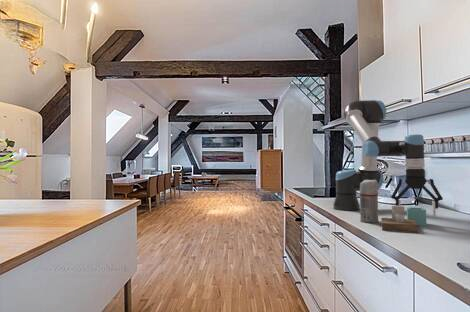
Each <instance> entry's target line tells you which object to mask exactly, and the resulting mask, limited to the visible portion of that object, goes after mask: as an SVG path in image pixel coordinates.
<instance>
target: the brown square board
mask: <svg viewBox="0 0 470 312" xmlns="http://www.w3.org/2000/svg"><path fill="white" fill-rule="evenodd" d="M405 214H406V213H405V206H404V205H401V206H399V205H397V206H396V205H391V217H381V219H380V220H381V230H382V231H387V232H400V233H401V232H402V233H415V234H418V233H419V231H418V230H419V226H418V225H417V224H416V222H415V220H414V219H407V218H405Z"/></svg>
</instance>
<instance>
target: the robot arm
mask: <svg viewBox="0 0 470 312" xmlns="http://www.w3.org/2000/svg"><path fill="white" fill-rule="evenodd" d="M386 117H387V107H386V104H385V103H384V102H383V101H381V100H376V99H375V100H373V99H372V100H371V99H370V100H354V101H350V102H349V103H348V104H347V105H346V106H345V108H344V109H343V118H344V120H345V122H346V124H349V125H350V126H351V127H352V129H353V130H354V132H355V133H356V135H357V136H358V138H359V139H360V141H361V160H360V161H361V162H360V164H361V165H360V166H359V167H358V170H356V169H345V170H339V171H337V172H336V173H335V195H336V196H335V198H334V202H333V205H332V207H333V209H334V210H337V211H338V210H339V211H358V210H359V211H360V201H359V200H358V196H357V192H360V183H361V182H363V181H364V180H377V182H378V191H379V190H380V189H381V188H382V186H383V182H384V176H383V172H381V171H380V168H379V167H378V166H377V165H378V158H379V157H405V179H401V178H399V179H398V183H397V184H396V187H395V189H394V191H393V193H392V194H391V197H390V198H391V199H392V200H394V201H395V206H397V205H399V206H402V203H401V198H402V197H403V196H404V195H405V194H406V192H408V191H409V190H410V189H411V190H415V189H417V190H420V189H422V190H423V191H425V192H426V194H428V195H429V196H430V197H431V199H432V200H431V201H432V203H431V206H432V216H433V217H436V216H437V214H436V212H437V211H436V209H439V202H440V201H442V200H443V196H442V194H441V193H440V191H439V190H438V188H437V187H436V185H435V182H434V179H433V178H429V179H426V169H424V168H425V166H426V165H425V141H424V140H425V139H424V135H422V134H407V135H405V136H404V140H381V139H380V137H379V127H380V125H381V124H382V121H383V120H385V119H386ZM404 183H405V184H406V186H405V187H404V188H403V189H402V191H401V192H399V191H400V188H401V186H402V185H403V184H404ZM426 183H427V184H429V185H430V187H431V188H432V190H433V191H434V193H435V195H436V196H437V197H436V196H435V195H434V194H433V193H432V192H431V191H430V189H428V188H427V187H426ZM398 192H399V194H398ZM397 194H398V195H397ZM396 195H397V196H396Z"/></svg>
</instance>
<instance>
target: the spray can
mask: <svg viewBox="0 0 470 312" xmlns="http://www.w3.org/2000/svg"><path fill="white" fill-rule="evenodd" d="M378 199H379V190H378V182H377V180H364V181H363V182H361V183H360V191H359V205H360V209H359V212H360V213H359V214H360V217H359V218H360V221H361V222H362V223H367V224H368V223H369V224H370V223H371V224H372V223H373V224H374V223H379V201H378Z"/></svg>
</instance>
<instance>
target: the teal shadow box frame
mask: <svg viewBox="0 0 470 312" xmlns="http://www.w3.org/2000/svg"><path fill="white" fill-rule="evenodd" d="M406 219H414V220H415V222H416V224H417V225H418V227H419V226H420V227H427V209H426V208H424V207H412V206H411V207H410V206H407V207H406Z"/></svg>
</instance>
